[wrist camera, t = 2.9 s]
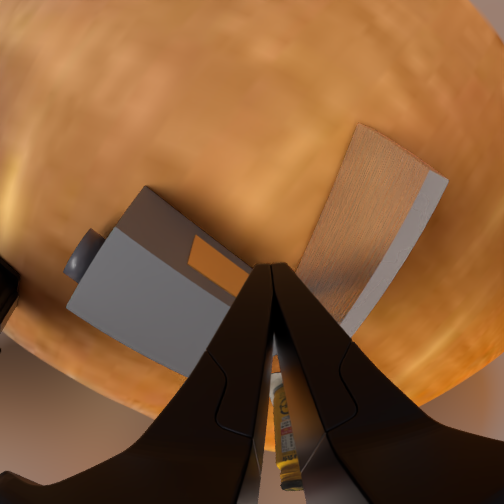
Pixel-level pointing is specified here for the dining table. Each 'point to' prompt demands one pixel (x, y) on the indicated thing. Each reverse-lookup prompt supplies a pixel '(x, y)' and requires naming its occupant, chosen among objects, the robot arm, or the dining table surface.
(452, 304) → the dining table surface
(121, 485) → the robot arm
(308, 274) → the side door
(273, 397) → the condiment
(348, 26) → the dining table surface
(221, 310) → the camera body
